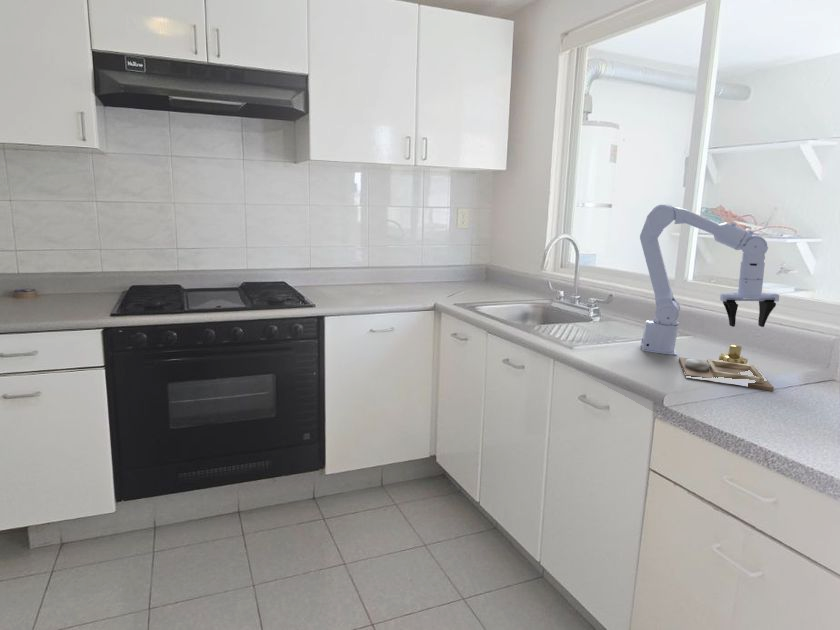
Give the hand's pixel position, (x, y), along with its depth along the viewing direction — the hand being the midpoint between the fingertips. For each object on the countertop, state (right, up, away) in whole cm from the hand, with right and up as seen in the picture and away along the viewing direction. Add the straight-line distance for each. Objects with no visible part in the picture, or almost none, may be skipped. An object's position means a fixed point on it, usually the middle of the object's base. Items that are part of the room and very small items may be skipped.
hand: (746, 326), depth 156 cm
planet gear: (-2, -11, +3) cm, 11 cm away
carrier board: (-11, -13, -8) cm, 19 cm away
